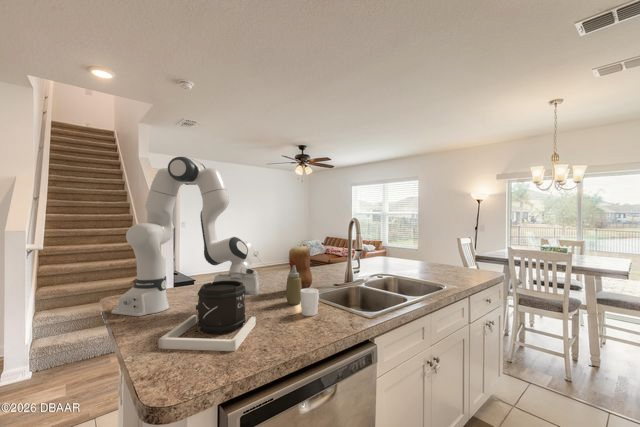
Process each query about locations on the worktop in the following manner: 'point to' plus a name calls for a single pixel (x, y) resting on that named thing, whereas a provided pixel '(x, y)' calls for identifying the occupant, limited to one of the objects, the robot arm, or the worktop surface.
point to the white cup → (309, 301)
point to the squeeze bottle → (293, 287)
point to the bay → (174, 342)
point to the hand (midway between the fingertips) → (230, 303)
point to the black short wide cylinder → (221, 307)
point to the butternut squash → (301, 264)
